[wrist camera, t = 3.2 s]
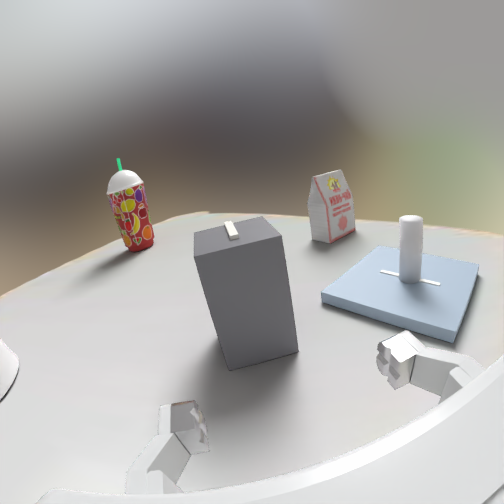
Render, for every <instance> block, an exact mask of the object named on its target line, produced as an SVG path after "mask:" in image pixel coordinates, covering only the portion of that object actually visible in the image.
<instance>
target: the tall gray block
mask: <svg viewBox="0 0 504 504" xmlns="http://www.w3.org/2000/svg"><path fill="white" fill-rule="evenodd" d="M224 224H225V225H224V226H219V227H215V228H211V229H207V230H203V231H199V232H195V233H194V259H195V263H196V266H197V270H198V273H199V277H200V280H201V284H202V287H203V291H204V294H205V297H206V301H207V304H208V307H209V310H210V314H211V317H212V320H213V323H214V326H215V329H216V333H217V336H218V339H219V342H220V345H221V348H222V351H223V354H224V357H225V360H226V363H227V366H228V369H229V371H230V370H234V369H238V368H242V367H246V366H250V365H254V364H258V363H261V362H265V361H269V360H272V359H276V358H279V357H283V356H286V355H289V354H293V353H296V352H299V350H298V343H297V335H296V328H295V321H294V313H293V306H292V299H291V293H290V286H289V279H288V273H287V266H286V260H285V253H284V247H283V241H282V235H281V234H280V233H279V232H278V231H277V230H276V229H275V228H274V227H273V226H272V225H271V224H269V223H268V222H267V221H266V220H265V219H264V218H263V217H257V218H253V219H249V220H245V221H240V222H236V223H232V221H226V222H224Z"/></svg>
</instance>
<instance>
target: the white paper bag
mask: <svg viewBox="0 0 504 504" xmlns="http://www.w3.org/2000/svg"><path fill="white" fill-rule="evenodd" d="M308 211H309V218H310V226H311V233H312V240H317V241H321V242H325V243H329V244H330V243H332V242H334V241H336V240H338V239H339V238H341V237H343V236H345V235H347V234H349V233H351V232H353V231H355V230H356V229H355V216H354V205H353V195H352V193H351V191H350V189H349V186H348V185H347V182H346V180H345V178H344V175H343V172H342V170H337V171H333V172H329V173H325V174H322V175H318V176H315V177H312V184H311V190H310V194H309V199H308Z"/></svg>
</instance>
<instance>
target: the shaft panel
mask: <svg viewBox="0 0 504 504" xmlns="http://www.w3.org/2000/svg"><path fill="white" fill-rule="evenodd" d="M399 227H400V249H396V248H391V247H385V246H379V245H378V246H377V247H376V248H375V249H374V250H373V251H371V252H370V253H369V254H368V255H367V256H365V257H364V258H363V259H362V260H360V261H359V262H358V263H357V264H356V265H354V266H353V267H352V268H351V269H349V270H348V271H347V272H346V273H344V274H343V275H342V276H341V277H339V278H338V279H337V280H336V281H334V282H333V283H332V284H330V285H329V286H328V287H327V288H325V289H324V290H323V291H321V298H322V302H324V303H327V304H330V305H333V306H336V307H339V308H342V309H345V310H348V311H351V312H354V313H357V314H360V315H363V316H366V317H369V318H372V319H376V320H379V321H382V322H385V323H388V324H391V325H394V326H398V327H401V328H404V329H407V330H411V331H414V332H417V333H420V334H424V335H427V336H430V337H433V338H437V339H440V340H443V341H447V342H450V343H453V342H454V340H455V337H456V335H457V333H458V330H459V328H460V325H461V322H462V320H463V317H464V314H465V312H466V309H467V306H468V303H469V300H470V297H471V294H472V291H473V288H474V285H475V281H476V278H477V275H478V269H479V264H475V263H470V262H465V261H460V260H455V259H450V258H444V257H439V256H434V255H429V254H424V253H422V246H423V219H422V217H419V216H414V215H409V216H408V215H407V216H402V217H400V218H399Z"/></svg>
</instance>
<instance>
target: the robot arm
mask: <svg viewBox="0 0 504 504" xmlns="http://www.w3.org/2000/svg"><path fill="white" fill-rule="evenodd" d="M377 350H378V351H379V354H378V355H377V360H376V363H377V366H378V369H379V371H380V372H381V374H382V375H384V376H388V380H387V381H388V382H389V384H390V385H391V386H392V387H393V388H394V390H396V389H398V388H400V387H402V386H404V385H406V384H408V383H410V384H413V385H415V386H417V387H420V388H422V389H424V390H427V391H429V392H432V393H434V394H437V395H439V396H441V398H440V401H439V403H438V405H437V406H435V407H433V408H432V409H430V410H429V411H427V412H425V413H424V414H422V415H420V416H419V417H417V418H415V419H414V420H412V421H410V422H408V423H407V424H405V425H403V426H401V427H399V428H397V429H396V430H394V431H392V432H390V433H388V434H386V435H384V436H382V437H380V438H378V439H376V440H374V441H371V442H369V443H367V444H365V445H363V446H360V447H358V448H356V449H354V450H351V451H349V452H346V453H344V454H342V455H339V456H336V457H334V458H331V459H329V460H326V461H323V462H320V463H318V464H315V465H312V466H309V467H306V468H303V469H299V470H296V471H293V472H290V473H286V474H283V475H279V476H275V477H271V478H267V479H263V480H259V481H255V482H250V483H245V484H240V485H235V486H230V487H224V488H217V489H211V490H203V491H195V492H185V493H184V492H183V491H182V490H181V489H180V488H179V487H178V486H176V483H177V481H178V479H179V477H180V475H181V474H182V472H183V470H184V468H185V466H186V464H187V462H188V460H189V458H190V457H191V455H193V454H199V453H204V452H209V442H208V438H207V436H206V435H205V434H206V432H207V426H206V422H205V418H204V416H203V414H202V412H201V411H199V410H198V404H197V403H196V401H195V400H193V401H186V402H180V403H173V404H168V405H161V406H160V408H159V422H158V435H155V436H154V437H153V438H152V440H151V441H150V442H149V443H148V445H147V446H146V447H145V448H144V450H143V451H142V452H141V454H140V455H139V456H138V457H137V459H136V460H135V461H134V462H133V464H132V465H131V466H130V467H129V469H128V470H127V472H126V484H125V494H105V493H93V492H83V491H75V490H68V489H62V488H53V489H51V490H50V491H48V492H47V493H46V494H45V495H43V496H42V497H41V498H40V499H39V500H38V501H37V502H36V503H35V504H504V354H503V355H502V356H501V357H500V358H499V359H498V360H497V361H496V362H494V363H493V364H492V365H491V366H490V367H488V368H487V369H485V368H483V367H482V366H481V365H480V364H479V363H478V362H477V361H476V360H474V359H473V358H472V357H471V356H467V355H463V354H458V353H454V352H449V351H445V350H440V349H436V348H432V347H429V348H427V347H425V346H424V345H423V344H422V343H421V342H420V341H419V340H418V339H417V338H416V337H414V336H413V335H412V334H411V333H410V332H409V331H407V330H405V331H403V332H401V333H399V334H397V335H395V336H392V337H390V338H388V339H386V340H384V341H382V342H379V344H378V347H377ZM18 367H19V359H18V357H17V355H16V354H15V353H14V352H13V351H12V350H11V349H10V348H9V347H8V346H7V345H6V344H5V343H4V342H3V341H2V340H1V338H0V399H1V398H2V397H3V396H4V395H5V393H6V392H7V391H8V389H9V388H10V386H11V384H12V383H13V381H14V379H15V377H16V374H17V371H18Z"/></svg>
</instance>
